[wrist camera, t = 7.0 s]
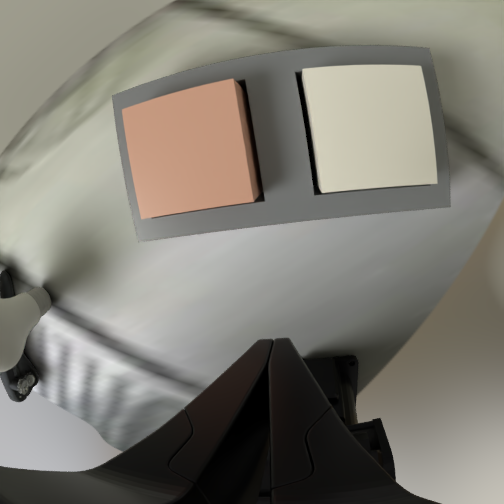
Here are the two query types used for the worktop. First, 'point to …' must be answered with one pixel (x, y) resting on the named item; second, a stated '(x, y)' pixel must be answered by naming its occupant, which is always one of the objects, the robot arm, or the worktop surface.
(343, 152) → the cream key
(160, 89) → the keypad
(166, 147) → the terracotta key
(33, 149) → the worktop surface
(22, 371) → the can opener
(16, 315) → the lightbulb
